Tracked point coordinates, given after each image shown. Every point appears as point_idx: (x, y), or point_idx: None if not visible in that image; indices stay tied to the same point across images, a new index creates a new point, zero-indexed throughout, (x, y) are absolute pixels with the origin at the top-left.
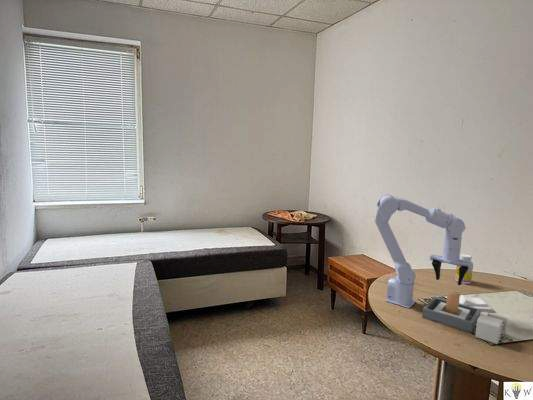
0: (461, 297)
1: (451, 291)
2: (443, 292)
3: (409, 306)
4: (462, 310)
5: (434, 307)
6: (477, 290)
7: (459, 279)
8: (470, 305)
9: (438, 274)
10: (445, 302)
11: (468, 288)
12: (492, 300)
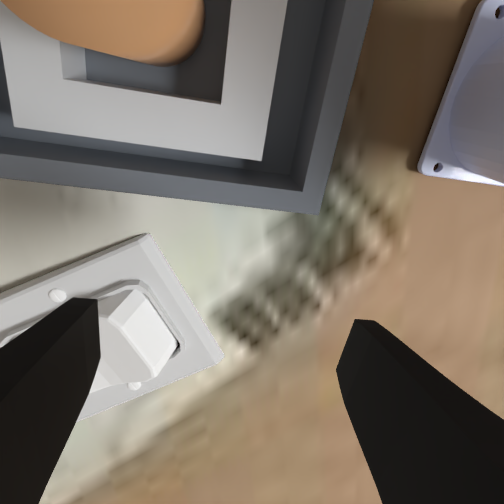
0: (149, 347)
1: (131, 16)
2: (260, 396)
3: (482, 14)
4: (68, 79)
5: (294, 132)
6: (124, 491)
7: (25, 354)
8: (89, 298)
9: (391, 389)
10: (226, 177)
11: (163, 489)
12: None
